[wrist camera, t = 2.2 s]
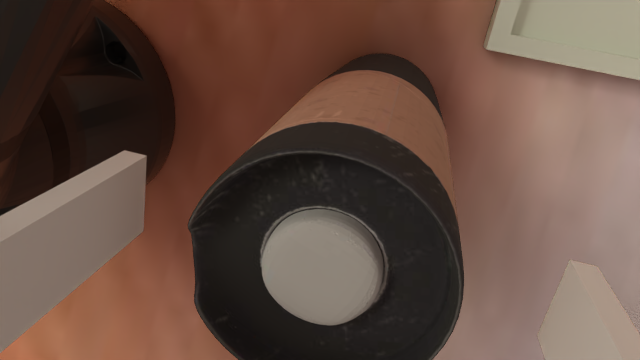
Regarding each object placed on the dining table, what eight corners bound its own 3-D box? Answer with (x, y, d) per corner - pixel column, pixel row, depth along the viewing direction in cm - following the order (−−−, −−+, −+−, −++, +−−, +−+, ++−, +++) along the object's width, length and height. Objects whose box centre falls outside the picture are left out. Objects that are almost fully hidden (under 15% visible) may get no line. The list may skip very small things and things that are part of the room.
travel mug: (468, 116, 30) (536, 312, 12) (374, 190, 33) (313, 439, 15) (384, 20, 29) (320, 74, 11) (295, 105, 32) (125, 260, 14)
